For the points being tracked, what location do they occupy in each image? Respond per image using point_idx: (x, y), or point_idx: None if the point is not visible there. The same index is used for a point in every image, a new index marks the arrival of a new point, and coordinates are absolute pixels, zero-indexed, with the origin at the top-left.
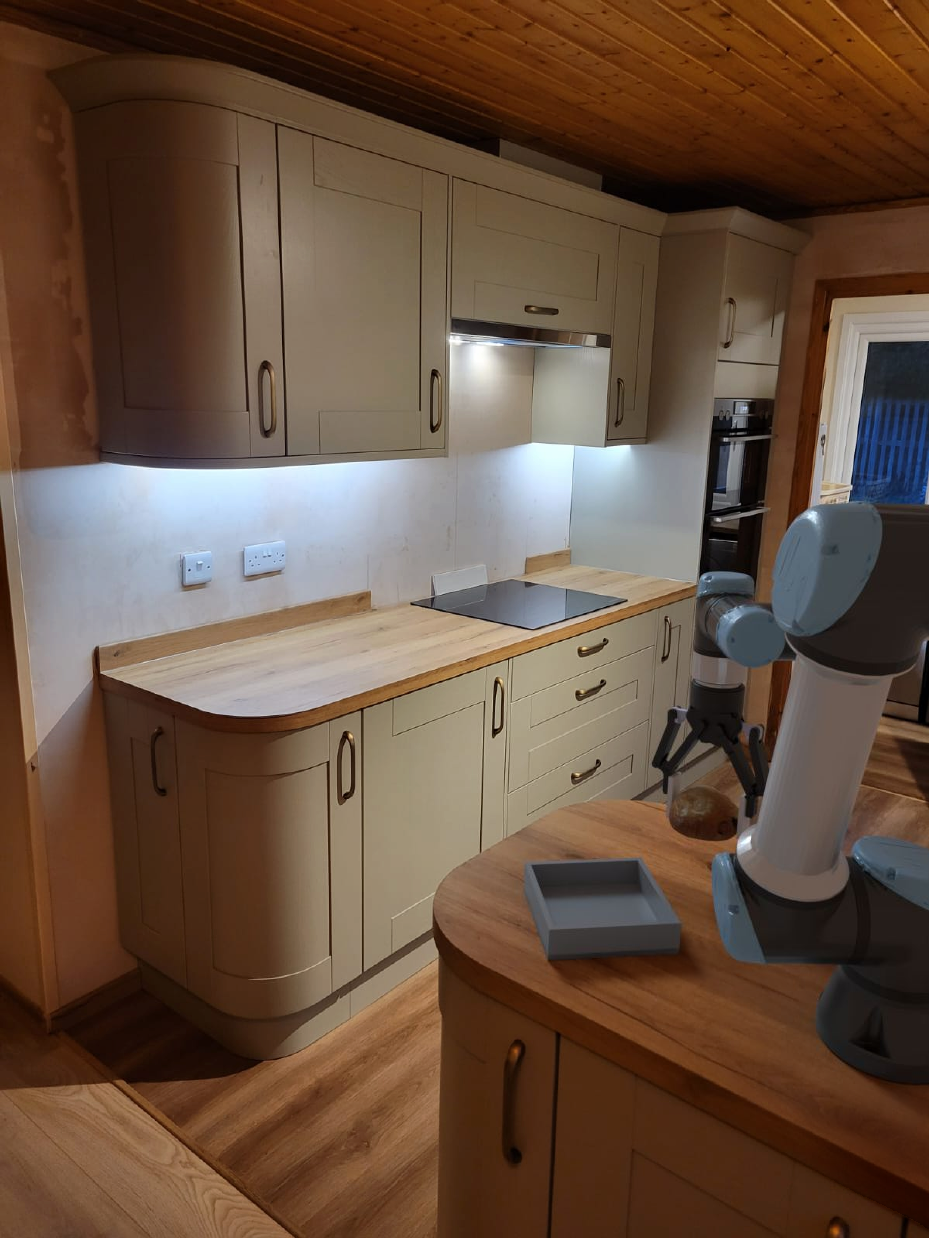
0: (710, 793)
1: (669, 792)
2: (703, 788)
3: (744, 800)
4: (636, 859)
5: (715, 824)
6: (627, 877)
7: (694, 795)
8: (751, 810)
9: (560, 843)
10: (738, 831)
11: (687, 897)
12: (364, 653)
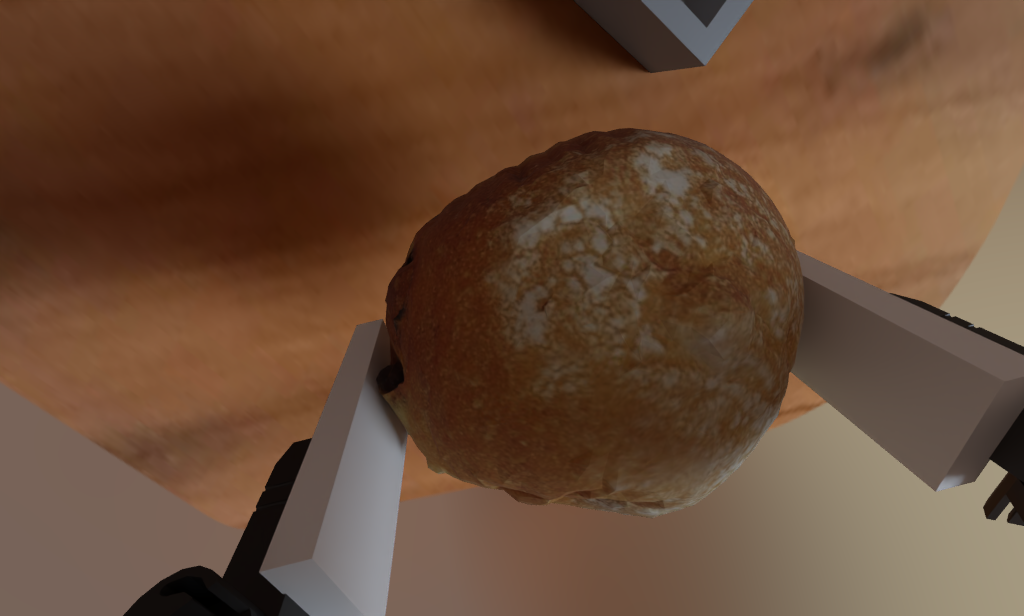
0: (599, 440)
1: (874, 296)
2: (683, 452)
3: (272, 538)
4: (712, 31)
5: (428, 251)
6: (692, 5)
7: (696, 334)
8: (275, 490)
9: (956, 78)
10: (367, 345)
11: (506, 139)
12: None
